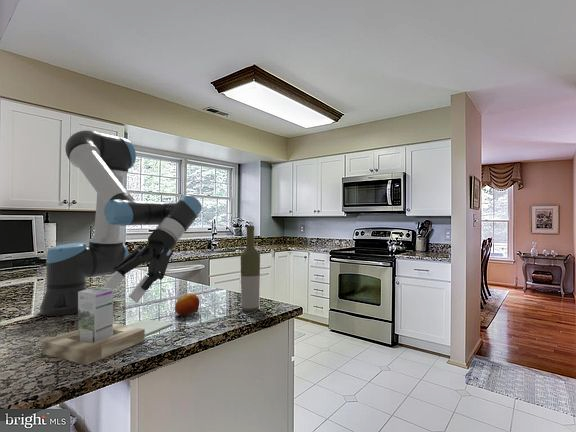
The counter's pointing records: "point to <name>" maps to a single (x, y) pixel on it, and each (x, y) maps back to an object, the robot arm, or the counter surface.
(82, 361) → the slotted stand
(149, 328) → the mat
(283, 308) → the counter surface
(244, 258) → the bottle
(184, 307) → the fruit
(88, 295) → the syrup box
